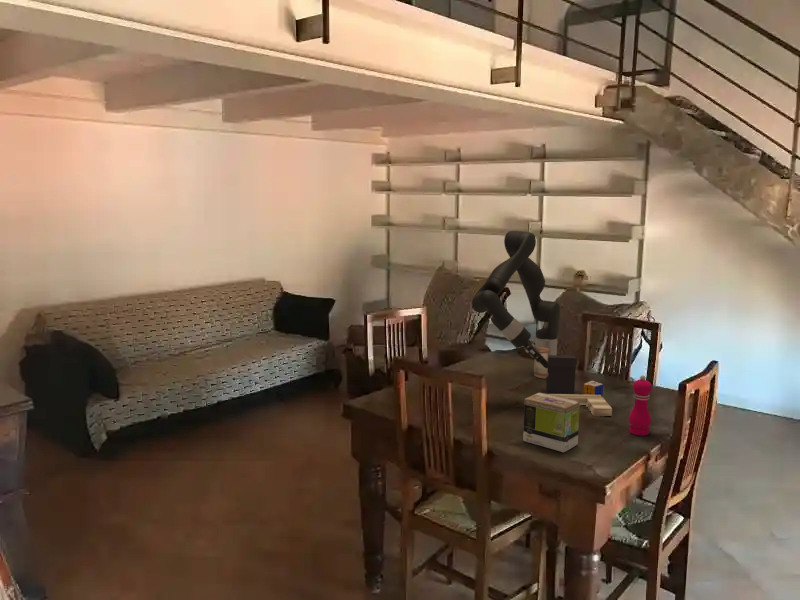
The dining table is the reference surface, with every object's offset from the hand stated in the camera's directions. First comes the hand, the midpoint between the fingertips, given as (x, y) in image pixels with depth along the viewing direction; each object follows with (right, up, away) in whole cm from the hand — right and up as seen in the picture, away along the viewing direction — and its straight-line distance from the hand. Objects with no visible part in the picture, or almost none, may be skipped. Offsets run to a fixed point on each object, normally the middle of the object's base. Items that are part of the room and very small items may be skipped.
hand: (546, 364), depth 246 cm
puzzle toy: (+22, -14, +16) cm, 31 cm away
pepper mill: (+26, -21, -22) cm, 40 cm away
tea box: (-6, -23, -31) cm, 39 cm away
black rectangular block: (+10, -13, +21) cm, 27 cm away
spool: (-2, -4, +1) cm, 5 cm away
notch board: (+12, -17, +1) cm, 21 cm away
